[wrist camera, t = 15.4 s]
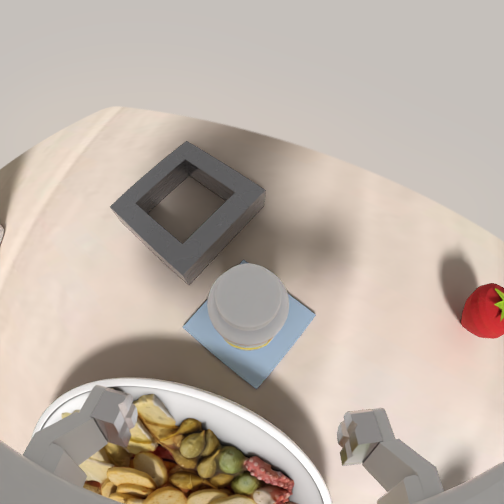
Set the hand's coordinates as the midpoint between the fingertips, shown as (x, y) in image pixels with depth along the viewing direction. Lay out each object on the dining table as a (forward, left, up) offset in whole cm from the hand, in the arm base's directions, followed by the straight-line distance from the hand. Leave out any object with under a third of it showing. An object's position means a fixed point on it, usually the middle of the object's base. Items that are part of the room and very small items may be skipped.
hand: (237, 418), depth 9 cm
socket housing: (-17, +10, -16) cm, 25 cm away
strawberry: (+17, +20, -16) cm, 31 cm away
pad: (-4, +5, -16) cm, 17 cm away
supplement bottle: (-4, +5, -16) cm, 17 cm away
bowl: (+4, -16, -17) cm, 23 cm away
